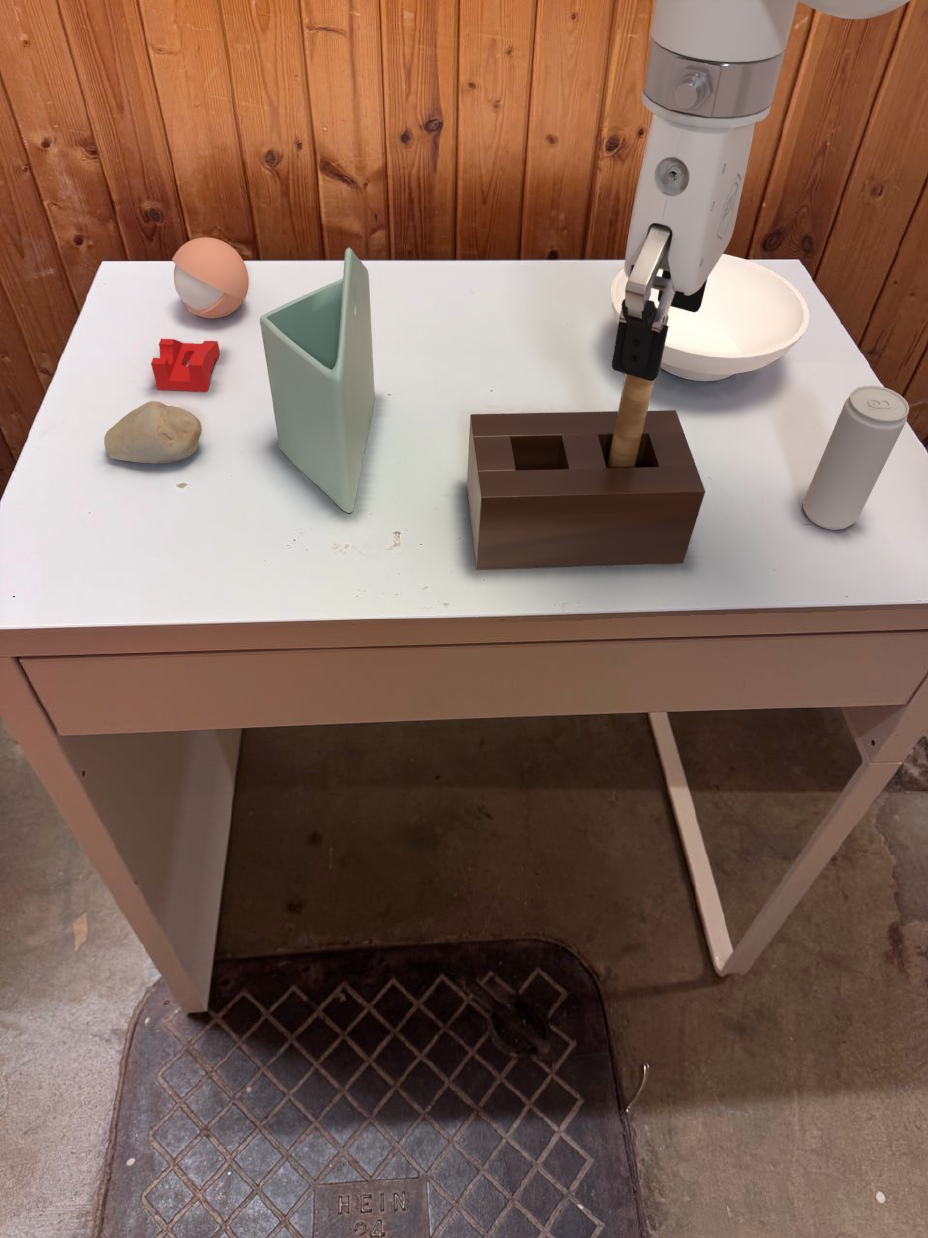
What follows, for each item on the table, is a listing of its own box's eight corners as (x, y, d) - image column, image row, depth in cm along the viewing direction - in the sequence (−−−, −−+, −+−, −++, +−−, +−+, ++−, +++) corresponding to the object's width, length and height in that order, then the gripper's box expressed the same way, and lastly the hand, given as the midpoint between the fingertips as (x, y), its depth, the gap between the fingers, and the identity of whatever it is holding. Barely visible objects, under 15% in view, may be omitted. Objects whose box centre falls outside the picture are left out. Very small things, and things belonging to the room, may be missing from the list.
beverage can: (794, 495, 83) (841, 383, 74) (847, 496, 84) (900, 384, 74) (808, 532, 80) (858, 420, 71) (863, 533, 80) (919, 422, 71)
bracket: (207, 391, 90) (201, 365, 88) (157, 389, 90) (150, 363, 88) (219, 353, 94) (214, 327, 92) (172, 351, 94) (166, 325, 92)
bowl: (594, 403, 91) (604, 343, 86) (605, 299, 104) (615, 240, 98) (795, 428, 90) (818, 368, 84) (782, 319, 102) (801, 261, 97)
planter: (294, 393, 90) (269, 192, 75) (375, 398, 90) (365, 198, 75) (261, 508, 80) (224, 300, 65) (353, 513, 80) (336, 307, 65)
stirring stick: (625, 517, 81) (672, 311, 65) (616, 533, 79) (662, 326, 64) (602, 509, 81) (643, 303, 66) (592, 524, 80) (633, 318, 65)
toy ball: (166, 307, 99) (149, 236, 93) (229, 284, 103) (217, 215, 97) (203, 341, 96) (188, 270, 90) (267, 316, 99) (257, 246, 93)
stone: (155, 503, 84) (213, 443, 81) (94, 462, 80) (152, 398, 77) (159, 465, 89) (213, 409, 86) (101, 425, 85) (155, 365, 83)
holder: (683, 563, 77) (705, 491, 71) (476, 569, 76) (481, 497, 70) (657, 481, 84) (676, 409, 78) (466, 486, 83) (470, 413, 77)
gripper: (733, 144, 47) (669, 419, 60) (809, 41, 57) (740, 295, 70) (595, 115, 49) (562, 387, 62) (692, 21, 59) (646, 271, 72)
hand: (657, 338), depth 66 cm, fingers open, 9 cm apart
